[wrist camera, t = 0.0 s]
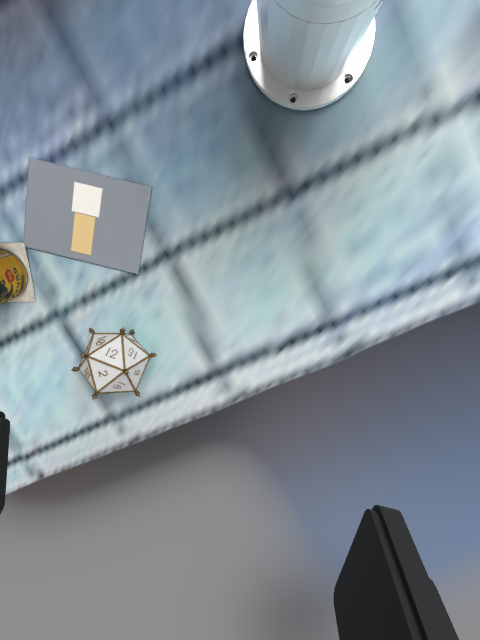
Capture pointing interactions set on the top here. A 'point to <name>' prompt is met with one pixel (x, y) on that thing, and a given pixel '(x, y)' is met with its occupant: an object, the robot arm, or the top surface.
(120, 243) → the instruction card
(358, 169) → the top surface
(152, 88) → the top surface
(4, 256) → the condiment
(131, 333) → the game die
